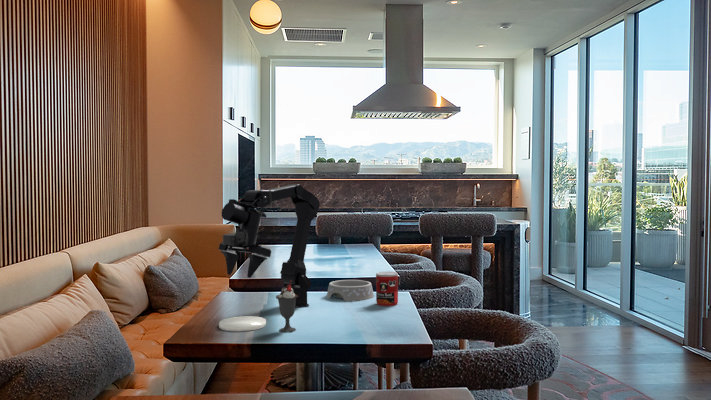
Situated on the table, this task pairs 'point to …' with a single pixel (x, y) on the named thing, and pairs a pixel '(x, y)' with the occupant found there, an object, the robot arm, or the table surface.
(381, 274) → the canned food
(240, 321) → the saucer
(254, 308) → the table surface
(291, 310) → the sundae
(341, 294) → the dog bowl
